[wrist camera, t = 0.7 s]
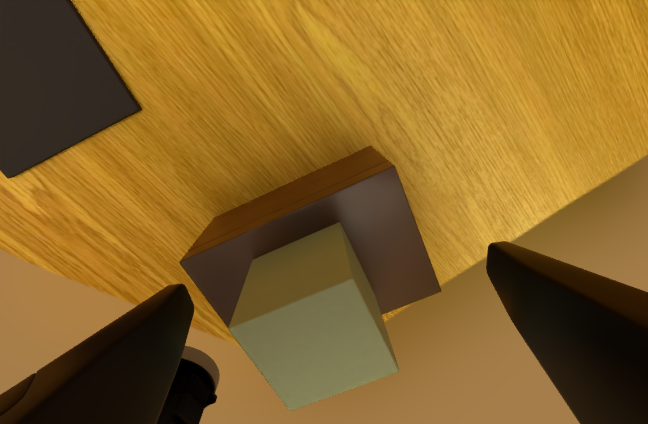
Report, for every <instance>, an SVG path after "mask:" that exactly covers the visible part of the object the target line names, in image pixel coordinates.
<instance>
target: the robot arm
mask: <svg viewBox="0 0 648 424" xmlns="http://www.w3.org/2000/svg"><path fill="white" fill-rule="evenodd" d="M486 269H487V274H488V276H489V278H490V280H491V282H492V284H493V286H494V287H495V290H496V291H497V294H498V295H499V297H500V299H501V301H502V303H503V305H504V307H505V309H506V311H507V313H508V315H509V316H510V318H511V320H512V322H513V323H514V325H515V326H516V328H517V330H518V331H519V333H520V334H521V336H522V337H523V339H524V340H525V342H526V343H527V345H528V346H529V348H530V349H531V351H532V352H533V354H534V355H535V357H536V358H537V360H538V361H539V363H540V364H541V366H542V367H543V369H544V370H545V372H546V373H547V375H548V376H549V378H550V379H551V381H552V382H553V384H554V385H555V387H556V388H557V389H558V391H559V393H560V394H561V396H562V397H563V399H564V400H565V402H566V403H567V405H568V406H569V408H570V409H571V411H572V412H573V414H574V415H575V417H576V418H577V420H578V421H579V423H580V424H648V292H645V291H642V290H640V289H637V288H634V287H631V286H628V285H626V284H623V283H620V282H617V281H615V280H611V279H609V278H606V277H603V276H600V275H598V274H595V273H592V272H590V271H587V270H584V269H581V268H578V267H576V266H573V265H570V264H567V263H564V262H561V261H559V260H556V259H553V258H551V257H548V256H545V255H542V254H539V253H537V252H534V251H531V250H528V249H526V248H523V247H520V246H517V245H515V244H512V243H509V242H506V241H502V242H495V243H491V244H490V245H489V246H488V254H487V265H486ZM193 313H194V304H193V302H192V300H191V297H190V295H189V293H188V290H187V288H186V286H185V285H184V284H174V285H169V286H167V287H165V288H164V289H162V290H161V291H159V292H158V293H156V294H155V295H153V296H152V297H150V298H149V299H147V300H145V301H144V302H142V303H141V304H139V305H138V306H136V307H135V308H133V309H132V310H130V311H129V312H127V313H126V314H124V315H122V316H121V317H119V318H118V319H116V320H115V321H113V322H112V323H110V324H109V325H107V326H106V327H104V328H103V329H101V330H99V331H98V332H96V333H95V334H93V335H92V336H90V337H89V338H87V339H86V340H84V341H83V342H81V343H80V344H78V345H77V346H75V347H74V348H72V349H70V350H69V351H67V352H66V353H64V354H63V355H61V356H60V357H58V358H57V359H55V360H54V361H52V362H50V363H49V364H47V365H46V366H44V367H43V368H41V369H40V370H38V371H37V373H34V374H32V375H30V376H29V377H27V378H26V379H24V380H23V381H21V382H20V383H18V384H17V385H15V386H14V387H12V388H10V389H9V390H7V391H6V392H4V393H3V394H1V395H0V424H199V422H200V419H201V416H202V413H203V410H204V407H206V406H209V405H211V404H214V403H215V402H216V400H217V395H216V394H215V393H214V392H213V391H212V389H211V388H210V387H209V386H208V385H207V384H206V383H205V381H204V380H203V379H202V378H201V377H200V376H199V374H198V373H197V372H196V371H195V370H194V369H193V368H192V366H191V365H190V364H189V363H188V362H187V361H186V360H185V359H184V358H181V357H182V354H183V350H184V346H185V343H186V339H187V335H188V332H189V328H190V324H191V321H192V317H193ZM180 363H181V364H180Z"/></svg>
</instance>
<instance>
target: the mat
mask: <svg viewBox="0 0 648 424" xmlns="http://www.w3.org/2000/svg"><path fill="white" fill-rule="evenodd" d="M139 110H141V108H140V106H139V105H138V103H137V102H136V100H135V99H134V97H133V95H132V94H131V92H130V91H129V89H128V88H127V86H126V85H125V83H124V82H123V80H122V79H121V77H120V76H119V74H118V73H117V71H116V70H115V68H114V67H113V65H112V63H111V62H110V60H109V59H108V57H107V56H106V54H105V53H104V51H103V50H102V48H101V47H100V45H99V44H98V42H97V41H96V39H95V38H94V36H93V35H92V33H91V31H90V30H89V28H88V27H87V25H86V24H85V22H84V21H83V19H82V18H81V16H80V15H79V13H78V12H77V10H76V9H75V7H74V6H73V4H72V2H71V1H70V0H0V170H1V171H2V173H3V174H4V175H5V176H6V177H7V178H12V177H15V176H16V175H18V174H20V173H22V172H24V171H26V170H28V169H30V168H32V167H33V166H35V165H37V164H39V163H41V162H43V161H45V160H47V159H49V158H50V157H52V156H54V155H56V154H58V153H60V152H62V151H64V150H66V149H68V148H69V147H71V146H73V145H75V144H77V143H79V142H81V141H83V140H85V139H86V138H88V137H90V136H92V135H94V134H96V133H98V132H100V131H102V130H103V129H105V128H107V127H109V126H111V125H113V124H115V123H117V122H119V121H121V120H122V119H124V118H126V117H128V116H130V115H132V114H134V113H136V112H138V111H139Z"/></svg>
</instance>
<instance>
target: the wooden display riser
mask: <svg viewBox="0 0 648 424" xmlns="http://www.w3.org/2000/svg"><path fill="white" fill-rule="evenodd" d="M338 222H340V223H341V225H342V227H343V229H344V231H345V234H346V236H347V238H348V240H349V242H350V244H351V246H352V248H353V250H354V252H355V254H356V256H357V259H358V261H359V263H360V265H361V267H362V269H363V271H364V273H365V275H366V277H367V279H368V281H369V284H370V286H371V288H372V290H373V292H374V294H375V297H376V300H377V303H378V306H379V309H380V312H381V315H382V314H385V313H387V312H390V311H393V310H395V309H398V308H400V307H403V306H405V305H408V304H411V303H413V302H416V301H418V300H421V299H423V298H426V297H429V296H431V295H434V294H436V293H439V292H441V288H440V286H439V283H438V280H437V277H436V275H435V272H434V269H433V267H432V264H431V261H430V259H429V256H428V253H427V251H426V248H425V245H424V243H423V240H422V237H421V235H420V232H419V229H418V227H417V224H416V221H415V219H414V216H413V213H412V210H411V208H410V205H409V202H408V200H407V197H406V194H405V192H404V189H403V186H402V184H401V181H400V178H399V176H398V173H397V170H396V168H395V166H394V165H393V164H392V163H391V162H389V161H388V160H387V159H386V158H385V157H384V156H382V155H381V154H380V153H379V152H378V151H376V150H375V149H374V148H373V147H372V146H369V147H367V148H365V149H362V150H360V151H358V152H356V153H354V154H352V155H349V156H347V157H345V158H343V159H341V160H339V161H336V162H334V163H332V164H330V165H328V166H326V167H323V168H321V169H319V170H317V171H315V172H313V173H311V174H308V175H306V176H304V177H302V178H300V179H298V180H295V181H293V182H291V183H289V184H287V185H285V186H282V187H280V188H278V189H276V190H274V191H272V192H269V193H267V194H265V195H263V196H261V197H259V198H256V199H254V200H252V201H250V202H248V203H246V204H243V205H241V206H239V207H237V208H235V209H233V210H230V211H228V212H226V213H224V214H222V215H220V216H217V217H215V218H214V219H213V220H212V221H211V222H210V224H209V225H208V226H207V227H206V229H205V230H204V231H203V233H202V234H201V235H200V236H199V238H198V239H197V240H196V241H195V243H194V244H193V245H192V246H191V248H190V249H189V250H188V252H187V253H186V254H185V256H184V257H183V258H182V259H181V261H180V262H179V263H180V264H181V266H182V267H183V268H184V270H185V271H186V272H187V274H188V275H189V276H190V278H191V279H192V280H193V282H194V283H195V284H196V286H197V287H198V288H199V290H200V291H201V292H202V294H203V295H204V296H205V298H206V299H207V300H208V302H209V303H210V304H211V306H212V307H213V308H214V310H215V311H216V312H217V314H218V315H219V316H220V318H221V319H222V320H223V322H224V323H225V324H226V326H227V327H228V328H229V325H230V323H231V320H232V317H233V314H234V311H235V308H236V306H237V303H238V300H239V297H240V294H241V291H242V289H243V286H244V283H245V280H246V277H247V274H248V271H249V269H250V266H251V263H252V260H253V259H256V258H258V257H260V256H262V255H265V254H267V253H269V252H272V251H274V250H276V249H278V248H281V247H283V246H285V245H288V244H290V243H292V242H295V241H297V240H299V239H301V238H304V237H306V236H308V235H311V234H313V233H315V232H317V231H320V230H322V229H324V228H327V227H329V226H331V225H334V224H336V223H338Z"/></svg>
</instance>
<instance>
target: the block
mask: <svg viewBox="0 0 648 424" xmlns="http://www.w3.org/2000/svg"><path fill="white" fill-rule="evenodd" d="M229 331H230V332H231V334H232V335H233V336H234V338H235V339H236V340H237V342H238V343H239V344H240V346H241V347H242V348H243V350H244V351H245V352H246V354H247V355H248V356H249V358H250V359H251V360H252V361H253V363H254V364H255V366H256V367H257V368H258V370H259V371H260V372H261V374H262V375H263V376H264V378H265V379H266V380H267V381H268V383H269V384H270V385H271V387H272V388H273V389H274V391H275V392H276V394H277V395H278V396H279V398H280V399H281V400H282V402H283V403H284V404H285V405H286V407H287V408H288V410H289V411H292V410H295V409H298V408H300V407H303V406H306V405H309V404H311V403H314V402H317V401H320V400H322V399H325V398H328V397H331V396H334V395H336V394H339V393H342V392H345V391H347V390H350V389H353V388H355V387H358V386H361V385H364V384H367V383H369V382H372V381H375V380H378V379H380V378H383V377H386V376H389V375H392V374H394V373H397V372H399V368H398V364H397V361H396V358H395V355H394V352H393V349H392V346H391V343H390V340H389V337H388V334H387V331H386V328H385V324H384V321H383V318H382V315H381V312H380V309H379V306H378V303H377V300H376V297H375V294H374V292H373V290H372V288H371V286H370V284H369V281H368V279H367V277H366V275H365V273H364V271H363V269H362V267H361V265H360V263H359V261H358V259H357V256H356V254H355V252H354V250H353V248H352V246H351V244H350V242H349V240H348V238H347V236H346V234H345V231H344V229H343V227H342V225H341V223H340V222H338V223H336V224H334V225H331V226H329V227H327V228H324V229H322V230H320V231H317V232H315V233H313V234H311V235H308V236H306V237H304V238H301V239H299V240H297V241H295V242H292V243H290V244H288V245H285V246H283V247H281V248H278V249H276V250H274V251H272V252H269V253H267V254H265V255H262V256H260V257H258V258H256V259H253V260H252V263H251V266H250V269H249V271H248V274H247V277H246V280H245V283H244V286H243V289H242V291H241V294H240V297H239V300H238V303H237V306H236V308H235V311H234V314H233V317H232V320H231V323H230V325H229Z"/></svg>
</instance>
